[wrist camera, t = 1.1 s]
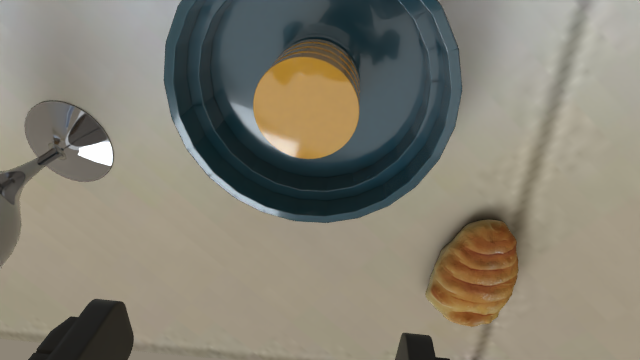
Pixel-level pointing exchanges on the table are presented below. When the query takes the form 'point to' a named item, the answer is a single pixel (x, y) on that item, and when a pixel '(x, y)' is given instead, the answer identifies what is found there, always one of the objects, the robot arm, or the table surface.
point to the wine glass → (52, 159)
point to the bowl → (375, 99)
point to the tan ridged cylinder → (309, 100)
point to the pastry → (475, 274)
